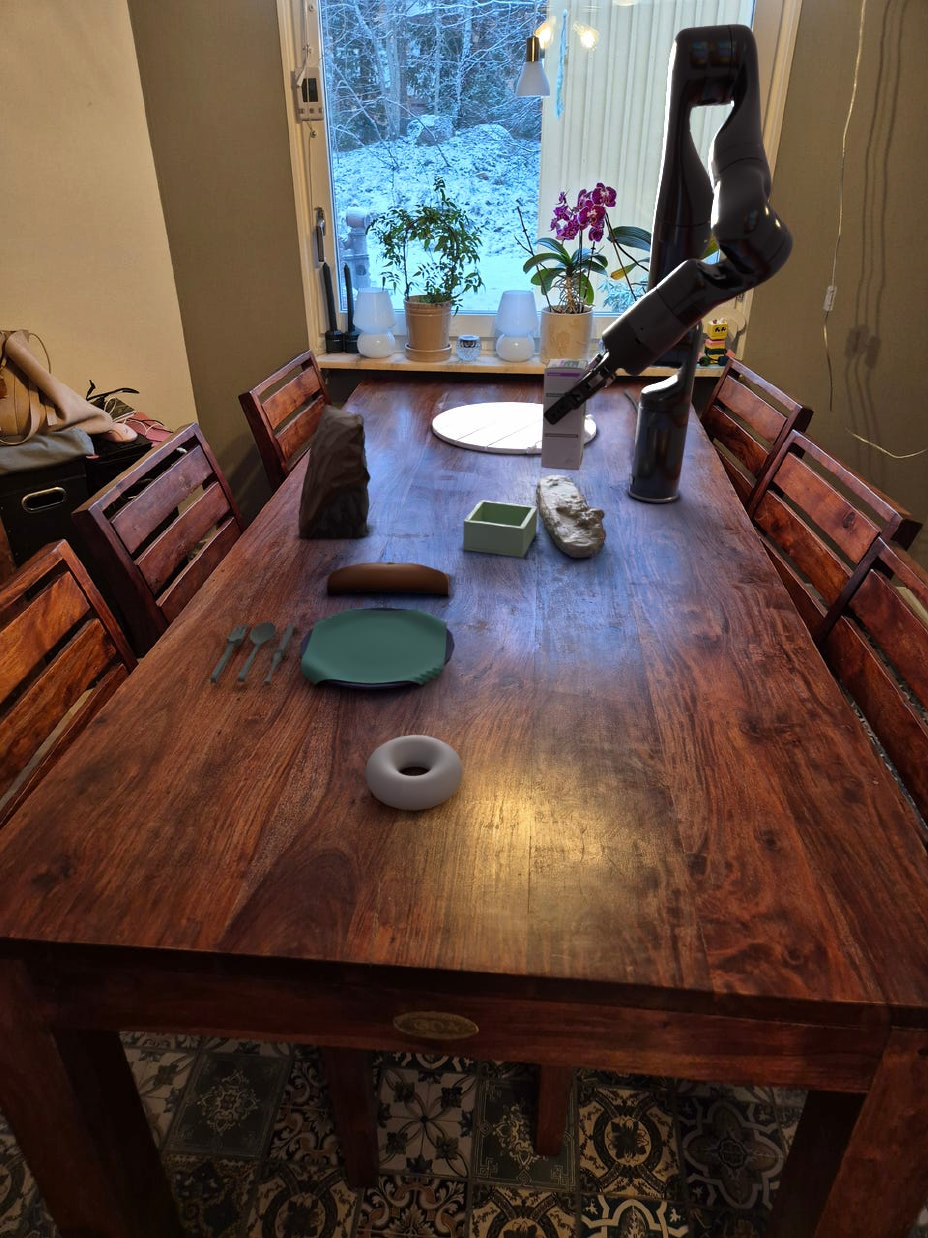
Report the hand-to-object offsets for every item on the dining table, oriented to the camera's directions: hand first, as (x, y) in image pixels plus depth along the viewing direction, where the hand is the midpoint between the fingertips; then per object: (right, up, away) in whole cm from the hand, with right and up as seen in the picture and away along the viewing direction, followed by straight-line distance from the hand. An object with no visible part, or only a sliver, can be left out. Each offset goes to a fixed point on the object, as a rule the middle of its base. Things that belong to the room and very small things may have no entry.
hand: (552, 413), depth 117 cm
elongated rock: (+6, -12, +29) cm, 32 cm away
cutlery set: (-29, -34, -11) cm, 46 cm away
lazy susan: (0, +16, +80) cm, 81 cm away
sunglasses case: (-24, -25, +6) cm, 35 cm away
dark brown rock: (-36, -14, +26) cm, 46 cm away
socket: (-7, -16, +21) cm, 28 cm away
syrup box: (+2, -7, +3) cm, 8 cm away
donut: (-18, -47, -32) cm, 60 cm away
